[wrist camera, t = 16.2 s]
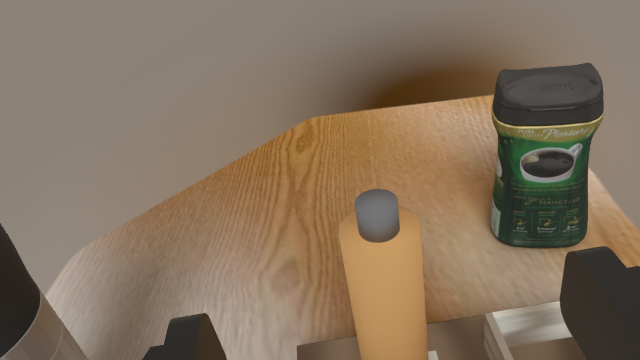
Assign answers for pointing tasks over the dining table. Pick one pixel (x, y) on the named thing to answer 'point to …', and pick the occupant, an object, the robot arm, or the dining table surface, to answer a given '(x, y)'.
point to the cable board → (479, 338)
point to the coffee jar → (544, 154)
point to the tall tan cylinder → (385, 277)
